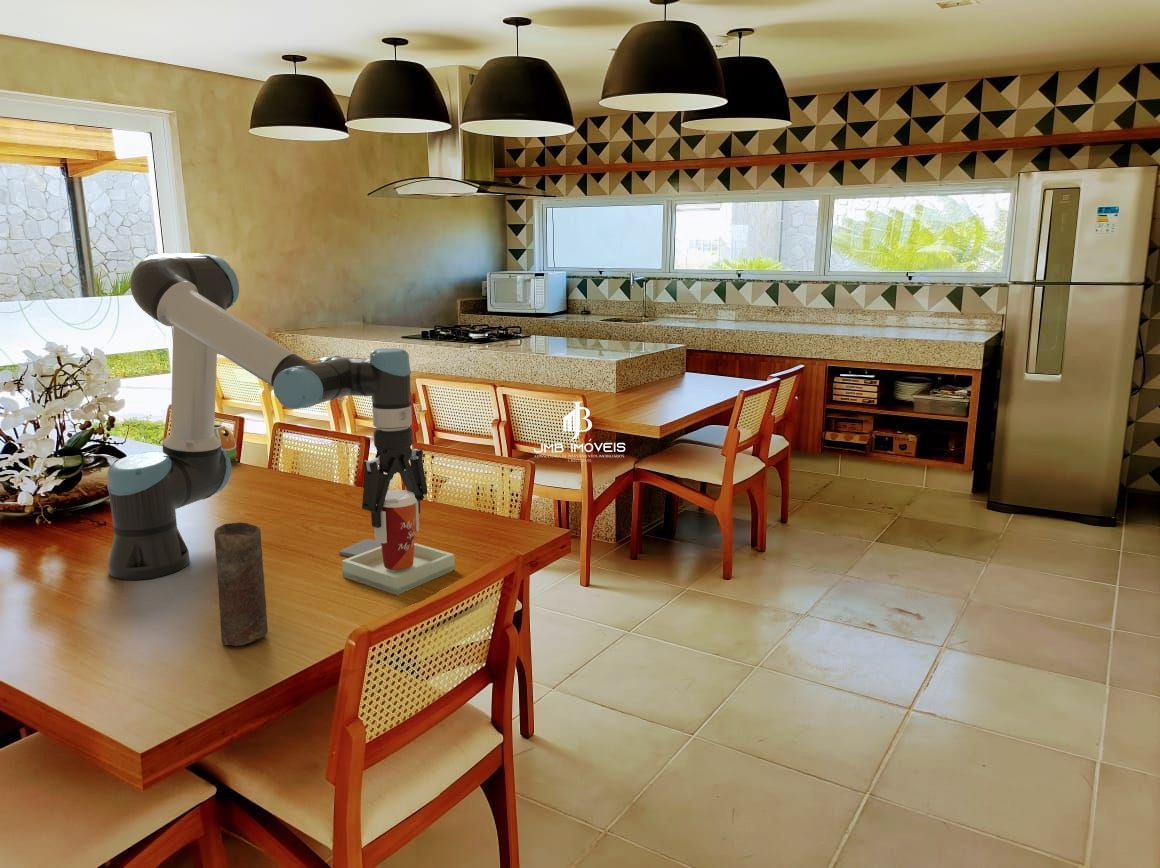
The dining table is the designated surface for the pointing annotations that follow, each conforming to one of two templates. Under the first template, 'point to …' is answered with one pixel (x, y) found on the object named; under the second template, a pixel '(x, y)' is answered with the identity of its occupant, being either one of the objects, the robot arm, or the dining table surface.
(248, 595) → the grey brown tall cylinder
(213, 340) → the robot arm
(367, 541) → the slate coaster
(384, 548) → the coffee cup
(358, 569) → the bin
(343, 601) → the dining table surface
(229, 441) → the turtle holder
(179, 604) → the dining table surface
